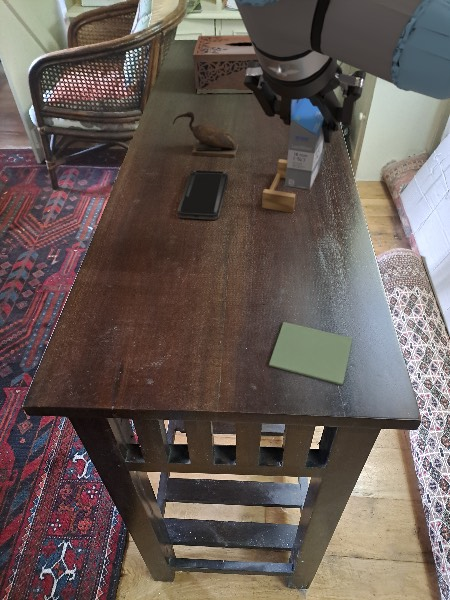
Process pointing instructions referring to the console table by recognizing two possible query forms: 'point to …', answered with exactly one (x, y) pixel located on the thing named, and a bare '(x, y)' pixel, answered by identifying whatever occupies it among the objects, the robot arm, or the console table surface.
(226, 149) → the figurine
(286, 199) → the tape holder
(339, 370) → the felt pad
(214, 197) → the phone
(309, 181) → the blue grey carton
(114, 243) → the console table surface
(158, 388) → the console table surface
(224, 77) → the tissue box cover
